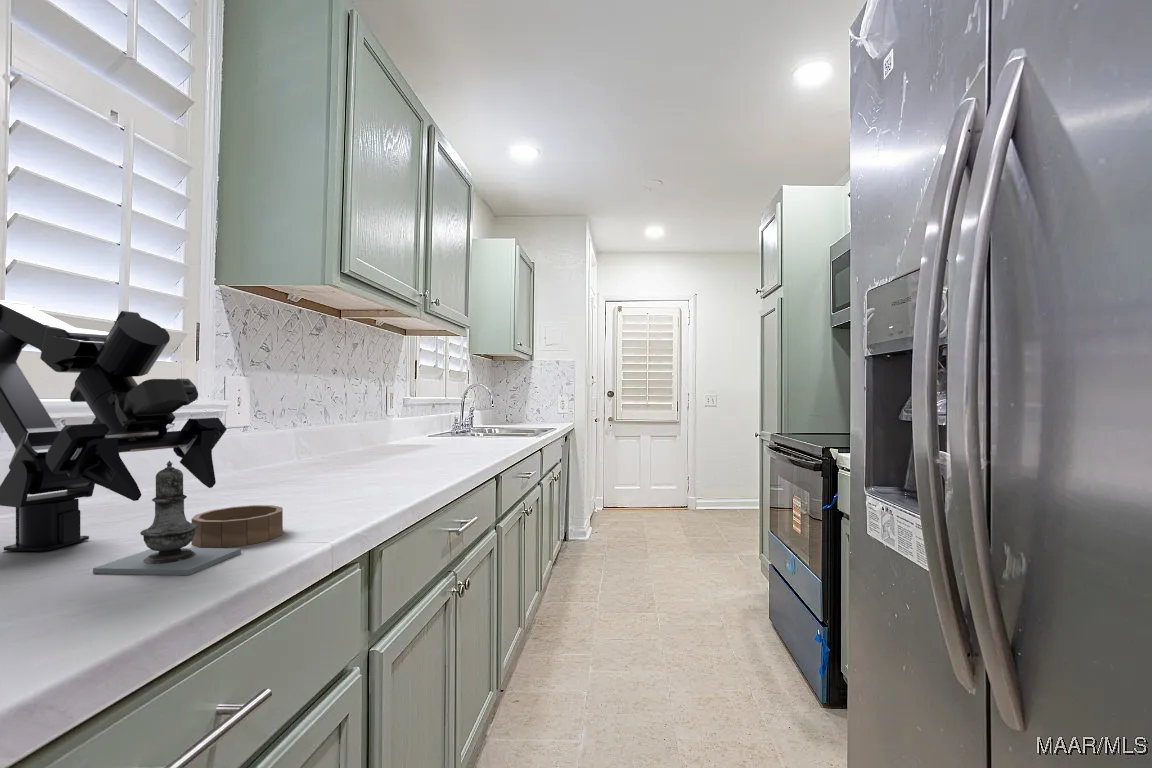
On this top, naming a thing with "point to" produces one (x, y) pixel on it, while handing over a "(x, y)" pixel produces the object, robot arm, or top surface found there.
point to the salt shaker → (169, 520)
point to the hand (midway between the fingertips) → (177, 491)
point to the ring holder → (237, 526)
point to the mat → (183, 567)
